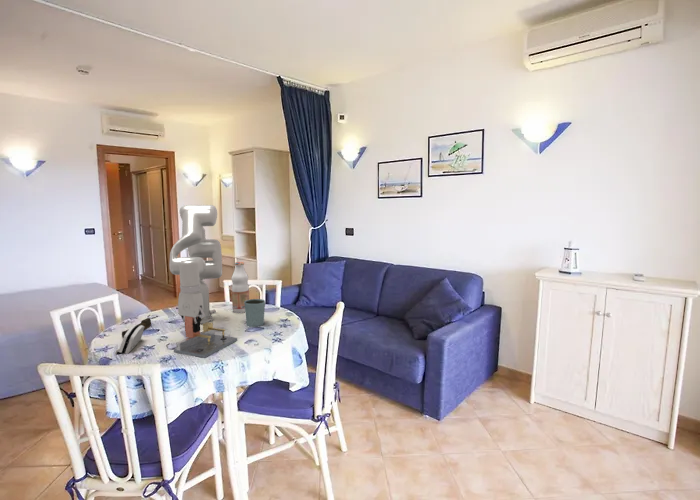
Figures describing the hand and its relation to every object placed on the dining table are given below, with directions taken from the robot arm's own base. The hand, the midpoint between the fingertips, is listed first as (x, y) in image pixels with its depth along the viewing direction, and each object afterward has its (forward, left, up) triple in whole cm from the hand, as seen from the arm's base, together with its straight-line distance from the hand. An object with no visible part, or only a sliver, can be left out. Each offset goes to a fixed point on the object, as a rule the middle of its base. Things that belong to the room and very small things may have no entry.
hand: (192, 330), depth 157 cm
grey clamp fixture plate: (-2, +5, -7) cm, 9 cm away
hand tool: (-4, -39, -7) cm, 40 cm away
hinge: (+10, -25, -7) cm, 27 cm away
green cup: (-34, +7, -7) cm, 35 cm away
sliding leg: (0, +4, -5) cm, 6 cm away
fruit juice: (-51, -15, -7) cm, 53 cm away
